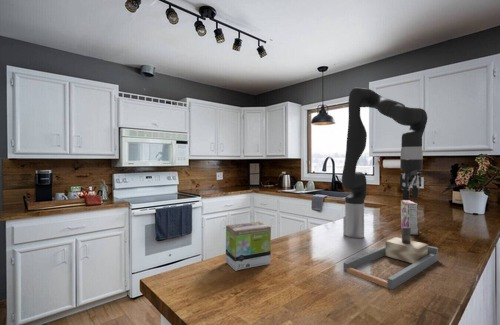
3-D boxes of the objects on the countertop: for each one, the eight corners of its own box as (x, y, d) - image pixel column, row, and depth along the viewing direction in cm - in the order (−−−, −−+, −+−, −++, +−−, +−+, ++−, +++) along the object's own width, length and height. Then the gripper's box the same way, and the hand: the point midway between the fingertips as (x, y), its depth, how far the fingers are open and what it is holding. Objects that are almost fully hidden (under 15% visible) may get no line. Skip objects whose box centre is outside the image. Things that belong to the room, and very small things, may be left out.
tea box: (235, 272, 94) (235, 231, 94) (225, 262, 103) (224, 224, 102) (271, 264, 101) (271, 225, 100) (258, 255, 110) (258, 220, 109)
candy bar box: (400, 228, 149) (400, 200, 149) (409, 229, 148) (410, 200, 148) (407, 234, 138) (408, 203, 138) (418, 234, 137) (418, 203, 137)
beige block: (385, 255, 107) (385, 226, 107) (395, 250, 113) (395, 223, 113) (418, 265, 98) (418, 233, 98) (427, 259, 103) (427, 229, 103)
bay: (343, 270, 94) (343, 257, 94) (393, 248, 117) (393, 237, 117) (392, 289, 81) (392, 273, 80) (437, 260, 103) (438, 247, 103)
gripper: (408, 158, 112) (407, 196, 112) (393, 158, 103) (392, 199, 103) (428, 158, 106) (428, 198, 106) (414, 158, 97) (413, 202, 98)
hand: (410, 198), depth 105 cm, fingers open, 8 cm apart
